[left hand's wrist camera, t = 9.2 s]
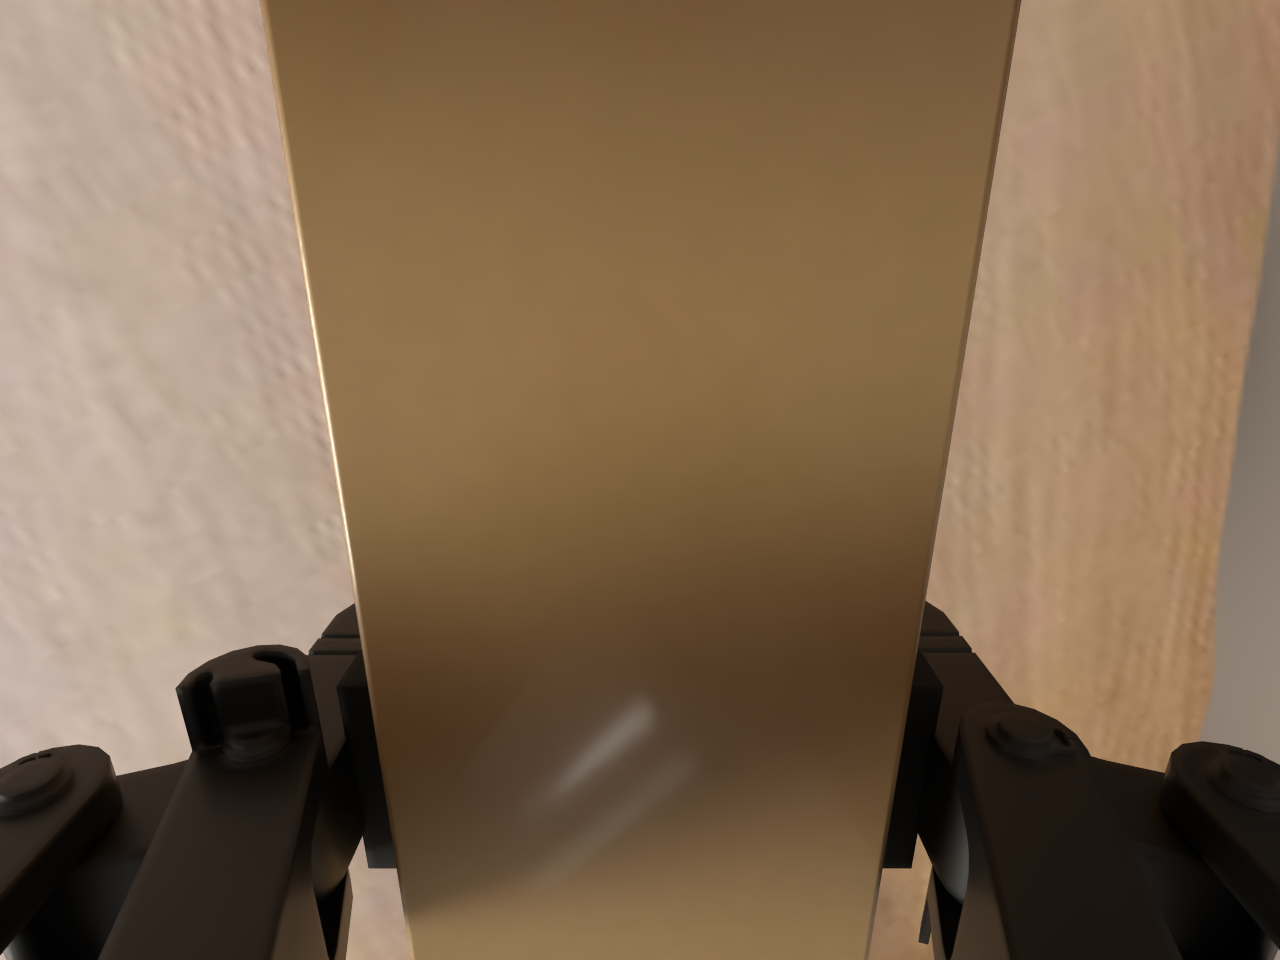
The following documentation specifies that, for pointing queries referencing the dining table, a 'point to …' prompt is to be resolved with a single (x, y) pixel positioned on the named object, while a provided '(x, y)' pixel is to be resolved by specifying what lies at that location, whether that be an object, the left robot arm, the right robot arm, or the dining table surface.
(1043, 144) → the dining table surface
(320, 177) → the bar
